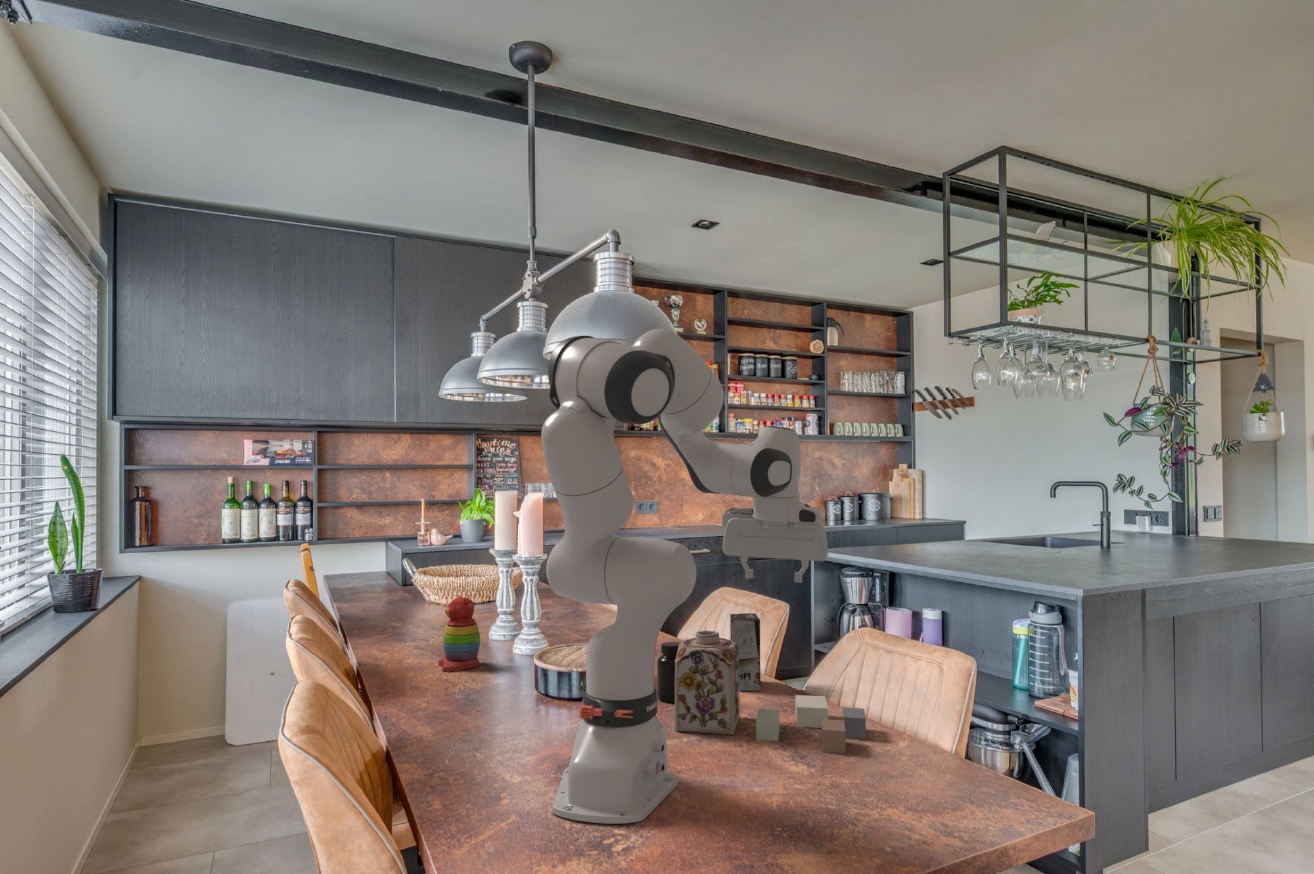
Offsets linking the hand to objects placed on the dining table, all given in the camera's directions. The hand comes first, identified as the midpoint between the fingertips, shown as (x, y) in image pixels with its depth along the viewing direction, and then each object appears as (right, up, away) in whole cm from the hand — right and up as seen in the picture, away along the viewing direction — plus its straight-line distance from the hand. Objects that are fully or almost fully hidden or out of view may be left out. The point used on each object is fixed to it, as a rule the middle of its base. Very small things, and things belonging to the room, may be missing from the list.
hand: (773, 580), depth 145 cm
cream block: (+8, -29, +4) cm, 31 cm away
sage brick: (-2, -29, -4) cm, 29 cm away
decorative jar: (-13, -29, +2) cm, 32 cm away
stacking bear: (-74, -32, +49) cm, 95 cm away
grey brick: (+15, -29, -3) cm, 32 cm away
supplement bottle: (-19, -30, +19) cm, 40 cm away
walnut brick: (+9, -28, -10) cm, 32 cm away
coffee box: (-2, -31, +29) cm, 42 cm away
